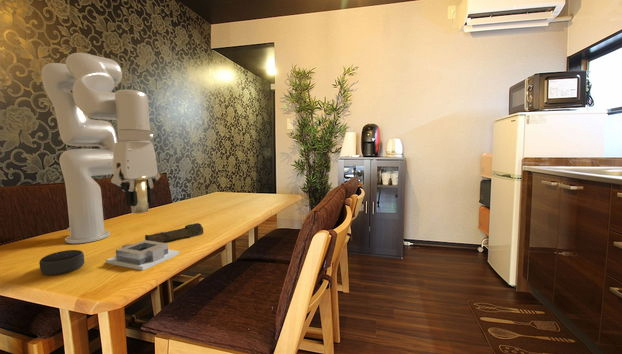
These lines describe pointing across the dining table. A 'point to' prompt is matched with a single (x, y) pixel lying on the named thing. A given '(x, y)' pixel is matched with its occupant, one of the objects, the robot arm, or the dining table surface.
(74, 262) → the smart speaker
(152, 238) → the hand tool
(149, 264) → the board
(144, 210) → the brass pin
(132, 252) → the grey holder fixture
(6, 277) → the dining table surface
